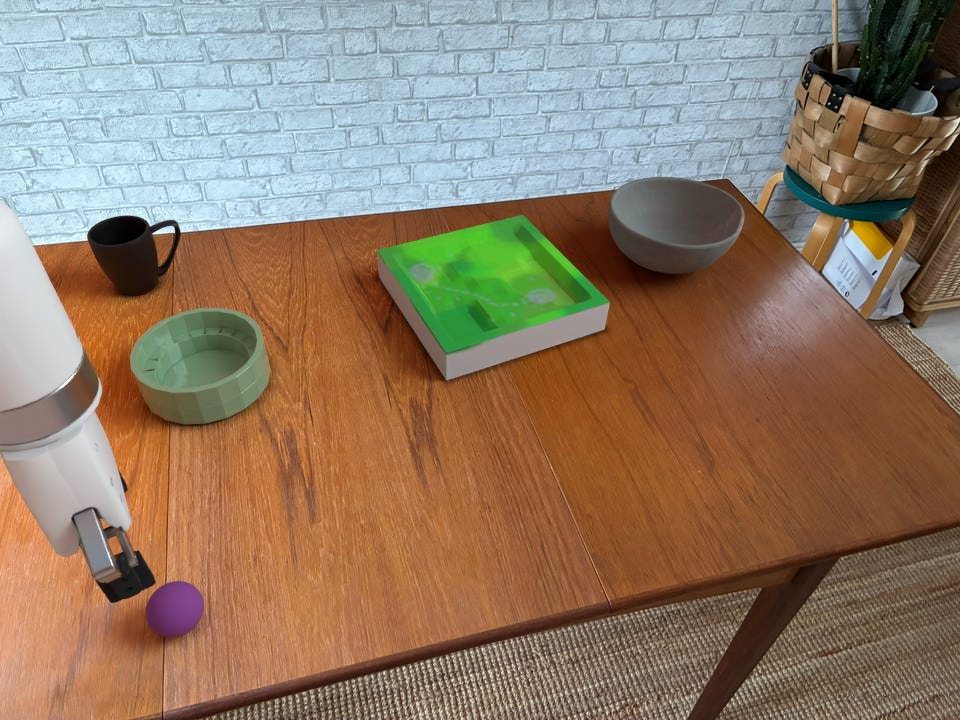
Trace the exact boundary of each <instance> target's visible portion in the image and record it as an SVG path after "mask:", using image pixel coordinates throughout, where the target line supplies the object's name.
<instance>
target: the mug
mask: <svg viewBox="0 0 960 720" xmlns="http://www.w3.org/2000/svg"><path fill="white" fill-rule="evenodd" d="M166 227H167V228H168V227H173V229H174V234H173V235H174V238H173V241H172V244H171V247H170V250H169V253H168V254H167V257H166V258H165V260H164V261H163V263H162V264H160V265H159V258H158V250H157V245H156V244H157V243H156V240H155V237H154V235H153V234H154V233H156V232H157V231H159V230H162V229H164V228H166ZM181 234H182V232H181V228H180V225H179V223H178V221H177V220H176V219H166V220H163V221H159V222H157V223H155V224H154V223H153V224H152V225H150V223H149V222H148V221H147V220H146V219H145V218H144V217H140V216H138V215H137V216H136V215H128V214H127V215H117V216H112V217H108V218H105V219H103V220H100V221H99V222H97V223H95V224H94V225H92V226H91V227H90V229H89V230H88V231H87V234H86V239H87V242H88V245H89V246H90V249H91V251H92V255H93V256H94V258H95V260H96V262H97V264H98V265H99V267H100V268H101V270H102V271H103V273H104V274H105V276H106V277H107V278H108V279H109V280H110V282H111V283H112V284H113V285H114V286H115V288H117V290H118V292H120V293H121V294H122V295H125V296H130V297H137V296H142V295H145V294H148V293H150V292H151V291H153V290H154V289H156V287H157V286H158V284H159V278H161V277H163V276H164V275H166V273H167V272H168V271H169V269H170V268H171V265H172V262H173V259H174V258H175V255H176V252H177V249H178V247H179V243H180V241H181Z"/></svg>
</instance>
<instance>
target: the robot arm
mask: <svg viewBox="0 0 960 720" xmlns="http://www.w3.org/2000/svg"><path fill="white" fill-rule="evenodd" d="M90 359H91V358H90V357H89V356H88V353H87V351H86V350H85V347H84V345H83V343H82V342H81V339H80V337H79V336H78V333H77V332H76V329H75V327H74V325H73V323H72V321H71V319H70V317H69V316H68V313H67V312H66V309H65V307H64V305H63V303H62V301H61V299H60V297H59V295H58V292H57V290H56V289H55V287H54V285H53V283H52V281H51V279H50V277H49V275H48V273H47V271H46V269H45V267H44V265H43V262H42V260H41V258H40V256H39V255H38V253H37V250H36V248H35V246H34V244H33V243H32V240H31V239H30V236H29V235H28V232H27V230H26V229H25V227H24V225H23V224H22V221H21V220H20V218H19V216H18V215H17V214H16V213H15V211H13V209H12V208H10V207H9V206H8V205H7V204H6V203H5V202H4V201H2V200H0V457H1V459H2V462H3V463H4V466H5V468H6V470H7V472H8V474H9V476H10V478H11V480H12V482H13V484H14V485H15V488H16V490H17V491H18V493H19V495H20V496H21V499H22V500H23V502H24V504H25V505H26V507H27V508H28V510H29V512H30V513H31V515H32V517H33V518H34V520H35V521H36V523H37V525H38V526H39V528H40V530H41V532H42V533H43V534H44V536H45V538H46V539H47V541H48V543H49V544H50V546H51V547H52V549H53V551H55V553H56V554H57V555H58V556H61V557H63V558H69V557H70V556H71V557H72V556H73V555H76V554H78V553H79V550H81V553H82V556H83V557H84V560H85V562H86V565H87V566H88V569H89V571H90V574H91V577H92V579H93V581H94V582H95V583H96V584H97V586H98V587H99V589H100V590H101V591H102V593H103V594H104V596H105V597H106V598H107V600H108V601H109V602H110V603H111V604H115V603H118V602H120V601H123V600H128V599H131V598H133V597H135V596H137V595H139V594H140V593H141V592H143V591H145V590H147V589H149V588H151V587H153V586H155V585H156V583H157V582H156V579H155V575H154V573H153V572H152V570H151V569H150V567H149V564H148V563H147V561H146V560H145V558H144V556H143V554H142V553H141V551H140V550H139V549H138V550H135V549H134V548H133V545H132V543H131V541H130V538H129V535H128V533H127V532H128V531H129V529H130V527H131V525H132V517H131V512H130V508H129V506H128V501H127V499H126V498H127V497H126V493H127V492H128V490H129V488H128V485H127V483H126V480H125V478H124V477H123V474H122V473H121V471H120V469H119V467H118V465H117V461H116V458H115V455H114V452H113V449H112V447H111V444H110V441H109V438H108V436H107V434H106V432H105V429H104V427H103V425H102V423H101V421H100V418H99V417H98V414H97V413H96V409H97V407H98V406H99V404H100V402H101V398H102V396H103V395H102V394H103V385H102V382H101V380H100V377H99V376H98V373H97V371H96V369H95V367H94V365H93V364H92V361H91V360H90ZM102 520H103V521H104V524H107V525H108V526H107V527H104V526H103V523H102ZM114 537H116V539H117V541H118V544H119V546H120V548H121V552H119V553H116V554H114V553H113V550H112V548H111V546H110V543H109V540H110V539H112V538H114Z"/></svg>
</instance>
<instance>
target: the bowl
mask: <svg viewBox="0 0 960 720" xmlns="http://www.w3.org/2000/svg"><path fill="white" fill-rule="evenodd" d="M607 221H608V228H609V231H610V235H611V237H612V239H613V242H614V243H615V245H616V246H617V248H618V249H619V250H620V251H621V253H622V254H623V255H624V256H626V257H627V258H628V259H629V260H631V261H632V262H634V263H635V264H637V265H638V266H640V267H642V268H645V269H646V270H647V269H648V270H650V271H652V272H653V271H654V272H658V273H662V274H663V273H664V274H672V275H682V274H689V273H694V272H698V271H700V270H703V269H706V268H708V267H709V266H710V265H713V264H714V263H715V262H717V260H718V259H720V258H721V257H722V256H724V255H725V254H726V253H727V252H728V251H729V250H730V249H731V247H733V245H734V244H735V242H736V241H737V240H738V238H739V236H740V234H741V232H742V230H743V226H744V223H745V210H744V209H743V206H742V205H741V203H740V202H739V200H738V199H736V198H735V197H734V195H732V194H730V193H729V192H727V191H725V190H723V189H721V188H720V187H717V186H714V185H713V184H709V183H706V182H702V181H699V180H694V179H690V178H683V177H676V176H675V177H674V176H651V177H644V178H638V179H635V180H631V181H629V182H627V183H624V184H623V185H621V186H619V187H618V188H617V189H616V190H615V191H613V193H612V195H611V197H610V200H609V203H608V210H607Z"/></svg>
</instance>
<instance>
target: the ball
mask: <svg viewBox="0 0 960 720" xmlns="http://www.w3.org/2000/svg"><path fill="white" fill-rule="evenodd" d="M204 609H205V602H204V598H203V595H202V593H201V592H200V589H198V587H196V586H195V585H194V584H192V583H190V582H187V581H182V580H174V581H169V582H167V583H164V584H162V585H160V586H159V587H158V588H156V590H155V591H154V592H153V593H152V594H151V595H150V597H149V598H148V600H147V603H146V605H145V621H146V624H147V625H148V627H149V628H150V629H151V631H152V632H153V633H154V634H156V635H157V636H160V637H162V638H165V639H166V638H168V639H173V638H174V639H175V638H180V637H183V636H184V635H187V634H188V633H190V632H191V631H192V630H194V629H195V628H196V627H197V625H199V623H200V621H201V619H202V617H203V614H204Z"/></svg>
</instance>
